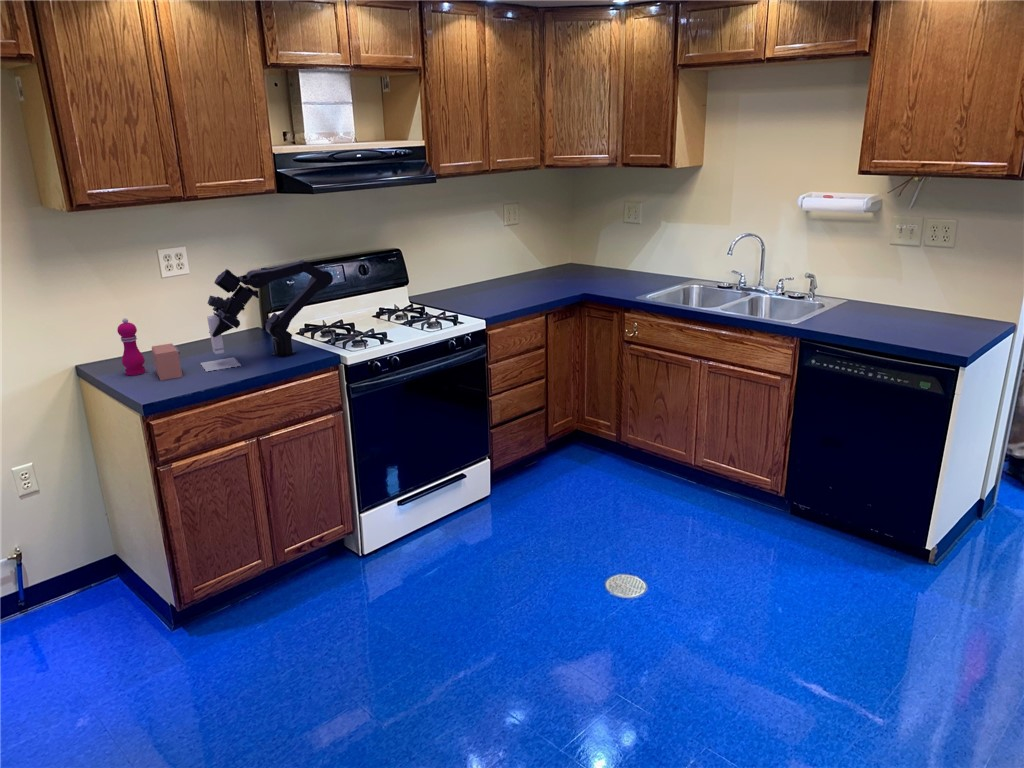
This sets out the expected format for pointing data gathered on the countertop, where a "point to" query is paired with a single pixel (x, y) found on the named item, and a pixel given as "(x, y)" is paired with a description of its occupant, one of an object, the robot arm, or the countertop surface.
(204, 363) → the mat
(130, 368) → the pepper mill
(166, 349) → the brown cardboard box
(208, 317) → the white rectangular block
